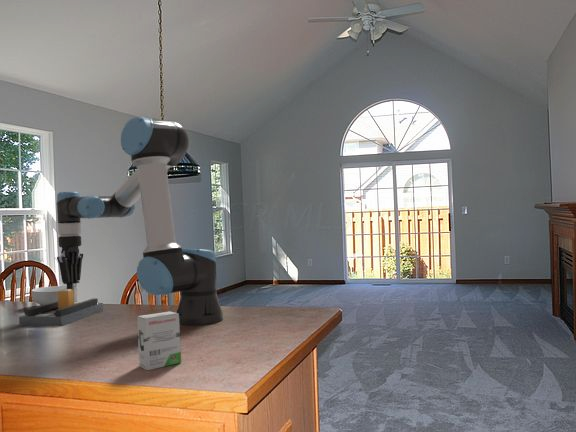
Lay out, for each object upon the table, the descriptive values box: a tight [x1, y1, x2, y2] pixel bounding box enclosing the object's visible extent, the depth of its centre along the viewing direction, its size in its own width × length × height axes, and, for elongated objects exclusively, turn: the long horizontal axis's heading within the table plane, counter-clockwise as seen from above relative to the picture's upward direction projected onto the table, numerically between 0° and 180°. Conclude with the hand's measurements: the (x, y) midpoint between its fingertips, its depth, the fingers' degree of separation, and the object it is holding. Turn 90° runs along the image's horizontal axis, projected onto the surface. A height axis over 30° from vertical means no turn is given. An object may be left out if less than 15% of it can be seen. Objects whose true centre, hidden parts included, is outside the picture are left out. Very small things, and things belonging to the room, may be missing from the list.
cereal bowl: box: [30, 285, 79, 306], centre depth 215 cm, size 17×17×7 cm
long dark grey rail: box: [56, 298, 99, 316], centre depth 188 cm, size 2×23×2 cm, turn 170°
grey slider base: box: [18, 301, 104, 327], centre depth 189 cm, size 15×26×4 cm, turn 170°
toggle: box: [58, 289, 75, 309], centre depth 191 cm, size 4×3×6 cm
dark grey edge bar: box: [24, 301, 58, 316], centre depth 190 cm, size 2×23×2 cm, turn 170°
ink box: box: [136, 311, 182, 371], centre depth 127 cm, size 9×5×12 cm, turn 127°
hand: (72, 302), depth 195 cm, fingers closed
